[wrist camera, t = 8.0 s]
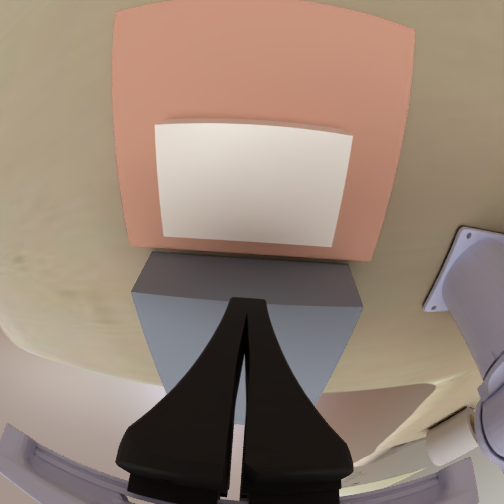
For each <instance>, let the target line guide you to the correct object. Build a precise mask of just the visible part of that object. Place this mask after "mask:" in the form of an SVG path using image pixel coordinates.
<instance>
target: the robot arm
mask: <svg viewBox="0 0 504 504" xmlns="http://www.w3.org/2000/svg"><path fill="white" fill-rule="evenodd" d="M467 234H468V235H467ZM423 309H424V311H425V312H437V311H449V312H450V313H451V315H452V317H453V319H454V321H455V322H456V324H457V326H458V328H459V330H460V332H461V334H462V336H463V338H464V340H465V342H466V344H467V346H468V348H469V350H470V352H471V354H472V356H473V358H474V360H475V362H476V365H477V367H478V369H479V371H480V374H481V376H482V378H483V381H484V382H483V383H482V384H481V385H480V386H479V387H478V392H479V395H480V397H481V399H480V401H479V402H478V404H477V407H476V410H475V416H474V428H475V435H476V439H477V442H478V445H479V447H480V449H481V450H482V452H483V453H484V455H485V456H486V457H487V458H488V459H489V460H491V461H492V462H494V463H496V464H497V465H498V466H499V467H500V468H501V470H502V471H503V473H504V234H501V233H496V232H491V231H485V230H480V229H475V228H469V227H462V228H460V229H459V231H458V233H457V235H456V238H455V240H454V243H453V245H452V247H451V250H450V252H449V254H448V257H447V259H446V261H445V263H444V266H443V268H442V270H441V272H440V274H439V276H438V278H437V280H436V282H435V285H434V286H433V288H432V290H431V292H430V294H429V296H428V298H427V300H426V302H425V304H424V306H423ZM244 354H245V385H246V415H245V430H244V446H243V459H242V473H241V487H240V501H233V500H221V499H220V497H227V492H228V490H229V484H230V470H231V456H232V455H231V454H232V442H233V429H234V417H235V406H236V399H237V393H238V388H239V382H240V377H241V371H242V366H243V360H244ZM116 464H117V465H118V466H119V467H121V468H122V469H124V470H126V471H127V472H129V473H130V478H129V481H126V480H123V479H120V478H117V477H114V476H111V475H108V474H105V473H103V472H100V471H97V470H95V469H92V468H89V467H87V466H84V465H82V464H80V463H77V462H75V461H73V460H71V459H68V458H66V457H64V456H62V455H60V454H58V453H56V452H54V451H52V450H50V449H48V448H46V447H44V446H42V445H40V444H39V443H37V442H36V441H35V440H33V439H32V438H31V437H29V436H28V435H26V434H24V433H23V432H21V431H19V430H18V429H16V428H14V427H13V426H12V425H10V424H6V427H5V429H4V432H3V435H2V437H1V441H0V474H2V475H3V476H4V477H6V478H7V479H8V480H9V481H11V482H12V483H13V484H15V485H16V486H17V487H19V488H20V489H21V490H22V491H24V492H25V493H26V494H28V495H29V496H30V497H32V498H33V499H34V500H36V501H37V502H38V503H40V504H135V503H131V502H129V501H128V499H127V497H126V496H125V495H127V496H130V497H133V498H136V499H140V500H144V501H147V502H151V503H155V504H478V502H479V499H478V492H477V486H476V480H475V475H474V470H473V465H472V461H471V458H470V457H468V458H466V459H464V460H461V461H459V462H457V463H454V464H452V465H450V466H448V467H446V468H444V469H441V470H440V471H438V472H436V473H434V474H431V475H428V476H425V477H422V478H419V479H416V480H413V481H410V482H406V483H403V484H399V485H396V486H392V487H388V488H384V489H380V490H375V491H371V492H366V493H361V494H355V495H349V496H343V497H339V489H341V479H343V478H345V477H347V476H349V475H350V474H352V472H353V461H352V457H351V454H350V451H349V448H348V446H347V444H346V443H345V442H344V441H343V439H341V437H340V436H339V435H338V434H337V433H336V432H335V431H334V430H333V429H332V428H331V427H330V426H329V425H328V423H327V422H326V421H325V419H324V418H323V417H322V416H321V414H320V413H319V412H318V410H317V409H316V408H315V406H314V405H313V404H312V402H311V401H310V399H309V398H308V397H307V395H306V394H305V392H304V391H303V389H302V387H301V386H300V384H299V383H298V381H297V379H296V378H295V376H294V374H293V372H292V370H291V369H290V367H289V365H288V363H287V361H286V359H285V356H284V354H283V352H282V350H281V348H280V345H279V343H278V340H277V338H276V335H275V333H274V330H273V327H272V324H271V320H270V317H269V313H268V309H267V302H266V301H265V300H264V299H256V298H241V297H232V298H230V300H229V303H228V306H227V309H226V311H225V313H224V315H223V317H222V320H221V322H220V324H219V325H218V327H217V329H216V331H215V332H214V334H213V336H212V338H211V339H210V341H209V342H208V344H207V346H206V347H205V349H204V350H203V352H202V353H201V355H200V356H199V357H198V359H197V360H196V362H195V363H194V364H193V365H192V367H191V368H190V369H189V371H188V372H187V373H186V374H185V375H184V377H183V378H182V379H181V380H180V381H179V382H178V383H177V384H176V386H175V387H174V388H173V389H172V390H171V391H170V392H169V393H168V394H167V395H166V396H165V397H164V398H163V399H162V400H161V401H160V402H158V403H157V404H156V405H155V406H154V407H153V408H152V409H151V410H150V411H148V412H147V413H146V414H145V415H144V416H142V417H141V418H140V419H138V420H137V421H136V422H135V423H133V424H132V425H131V426H129V427H128V429H127V430H126V432H125V434H124V436H123V438H122V441H121V443H120V445H119V449H118V454H117V457H116Z"/></svg>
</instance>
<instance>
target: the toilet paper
mask: <svg viewBox="0 0 504 504" xmlns="http://www.w3.org/2000/svg"><path fill="white" fill-rule="evenodd" d="M474 416H475V413H474V411H473V410H472V409H471V408H470V407H466V408H465V409H463V410H462V411H460V412H459V413H457V414H456V415H454V416H452V417H451V418H449V419H447V420H446V421H444V422H442V423H440V424H439V425H437V426H435V427H433V428H432V429H430V430H428V432H427V435H426V445H427V450H428V454H429V456H430V458H431V460H432V462H433V463H434V464H435V465H437V466H441V465H443V464H445V463H447V462H450V461H452V460H454V459H455V458H457V457H459V456H461V455H463V454H465V453H467V452H469V451H471V450H472V449H474V448H476V447H478V446H479V445H478V442H477V439H476V435H475V428H474Z"/></svg>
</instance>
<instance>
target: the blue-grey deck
mask: <svg viewBox="0 0 504 504" xmlns="http://www.w3.org/2000/svg"><path fill="white" fill-rule="evenodd" d="M131 294H132V297H133V301H134V304H135V307H136V311H137V314H138V317H139V320H140V323H141V326H142V329H143V332H144V335H145V338H146V341H147V344H148V347H149V350H150V352H151V355H152V358H153V360H154V363H155V366H156V368H157V371H158V373H159V376H160V378H161V381H162V383H163V386H164V388H165V390H166V393H167V394H168V393H169V392H170V391H171V390H172V389H173V388H174V387H175V386H176V384H177V383H178V382H179V381H180V380H181V379H182V378H183V377H184V375H185V374H186V373H187V372H188V371H189V369H190V368H191V367H192V365H193V364H194V363H195V362H196V360H197V359H198V357H199V356H200V355H201V353H202V352H203V350H204V349H205V347H206V346H207V344H208V342H209V341H210V339H211V338H212V336H213V334H214V332H215V331H216V329H217V327H218V325H219V324H220V322H221V320H222V317H223V315H224V313H225V311H226V309H227V306H228V303H229V300H230V298H232V297H241V298H256V299H264V300H265V301H266V302H267V309H268V313H269V317H270V320H271V324H272V327H273V330H274V333H275V335H276V338H277V340H278V343H279V345H280V348H281V350H282V352H283V354H284V356H285V359H286V361H287V363H288V365H289V367H290V369H291V370H292V372H293V374H294V376H295V378H296V379H297V381H298V383H299V384H300V386H301V387H302V389H303V391H304V392H305V394H306V395H307V397H308V398H309V399H310V401H311V402H312V404H313V405H314V406H315V404H316V402H317V401H318V399H319V397H320V395H321V394H322V392H323V390H324V388H325V386H326V384H327V383H328V381H329V379H330V377H331V375H332V373H333V371H334V369H335V367H336V365H337V363H338V361H339V359H340V357H341V355H342V353H343V351H344V349H345V347H346V345H347V343H348V341H349V339H350V336H351V334H352V332H353V330H354V328H355V325H356V323H357V321H358V319H359V316H360V314H361V312H362V309H363V304H362V302H361V299H360V296H359V293H358V290H357V288H356V285H355V282H354V279H353V277H352V274H351V271H350V269H349V266H348V265H346V264H329V263H312V262H296V261H280V260H264V259H248V258H233V257H218V256H203V255H188V254H174V253H160V252H152V253H151V255H150V257H149V259H148V261H147V262H146V264H145V266H144V268H143V270H142V272H141V274H140V275H139V277H138V279H137V281H136V283H135V285H134V287H133V289H132V291H131ZM245 415H246V385H245V354H244V360H243V366H242V371H241V377H240V382H239V388H238V393H237V399H236V406H235V417H234V424H240V425H245Z"/></svg>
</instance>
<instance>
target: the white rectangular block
mask: <svg viewBox="0 0 504 504" xmlns="http://www.w3.org/2000/svg"><path fill="white" fill-rule="evenodd" d="M352 140H353V136H352V135H351V134H349V133H348V132H346V131H344V130H343V129H339V128H333V127H326V126H319V125H311V124H303V123H294V122H283V121H272V120H257V119H235V118H179V119H167V120H164V121H162V122H160V123H158V124H155V145H156V162H157V176H158V189H159V199H160V209H161V219H162V227H163V235H164V237H180V238H197V239H214V240H230V241H246V242H262V243H277V244H292V245H307V246H321V247H332V243H333V238H334V234H335V230H336V225H337V221H338V216H339V211H340V206H341V201H342V196H343V191H344V186H345V181H346V175H347V170H348V164H349V158H350V152H351V146H352Z"/></svg>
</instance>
